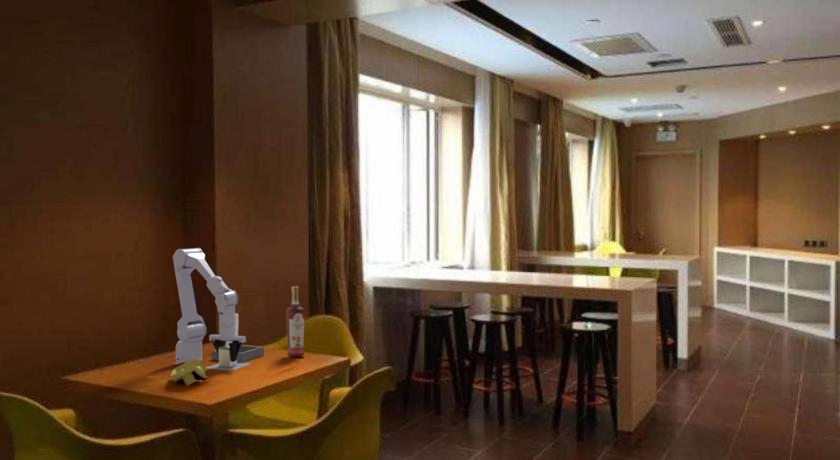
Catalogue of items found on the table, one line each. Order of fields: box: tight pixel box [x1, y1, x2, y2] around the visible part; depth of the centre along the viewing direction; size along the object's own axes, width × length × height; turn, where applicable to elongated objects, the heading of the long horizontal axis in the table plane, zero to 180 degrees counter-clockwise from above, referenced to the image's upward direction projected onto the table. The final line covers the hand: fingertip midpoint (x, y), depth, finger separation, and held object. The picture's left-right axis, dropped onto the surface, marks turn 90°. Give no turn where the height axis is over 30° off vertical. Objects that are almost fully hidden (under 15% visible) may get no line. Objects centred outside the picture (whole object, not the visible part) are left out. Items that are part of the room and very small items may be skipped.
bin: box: [211, 344, 265, 363], centre depth 278 cm, size 14×14×4 cm
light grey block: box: [218, 345, 238, 367], centre depth 262 cm, size 5×5×7 cm
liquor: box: [285, 286, 306, 359], centre depth 282 cm, size 7×7×28 cm
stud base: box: [205, 362, 251, 372], centre depth 262 cm, size 12×12×6 cm
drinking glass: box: [225, 312, 240, 345], centre depth 298 cm, size 7×7×15 cm
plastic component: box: [170, 358, 209, 386], centre depth 245 cm, size 20×7×10 cm
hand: (227, 360), depth 262 cm, fingers closed on light grey block, 5 cm apart
